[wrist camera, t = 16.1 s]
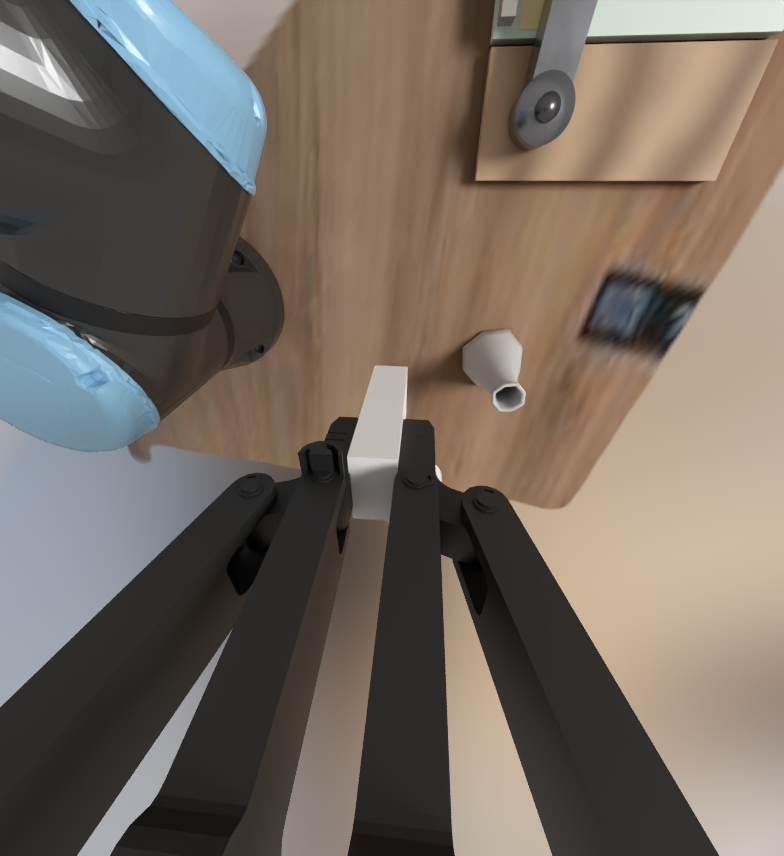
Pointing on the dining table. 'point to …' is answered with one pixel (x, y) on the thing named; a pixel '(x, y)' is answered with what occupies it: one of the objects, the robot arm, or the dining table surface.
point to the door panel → (648, 20)
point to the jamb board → (628, 112)
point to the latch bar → (551, 74)
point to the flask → (496, 367)
